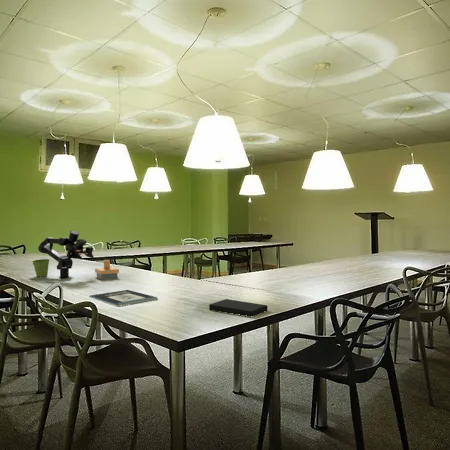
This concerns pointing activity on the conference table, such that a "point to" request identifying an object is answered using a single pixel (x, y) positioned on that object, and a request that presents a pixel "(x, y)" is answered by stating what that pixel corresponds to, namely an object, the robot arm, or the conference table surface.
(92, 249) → the robot arm
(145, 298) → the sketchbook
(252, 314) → the external hard drive
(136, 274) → the conference table surface
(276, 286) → the conference table surface
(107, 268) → the lid
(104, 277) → the storage box
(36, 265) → the plant pot
